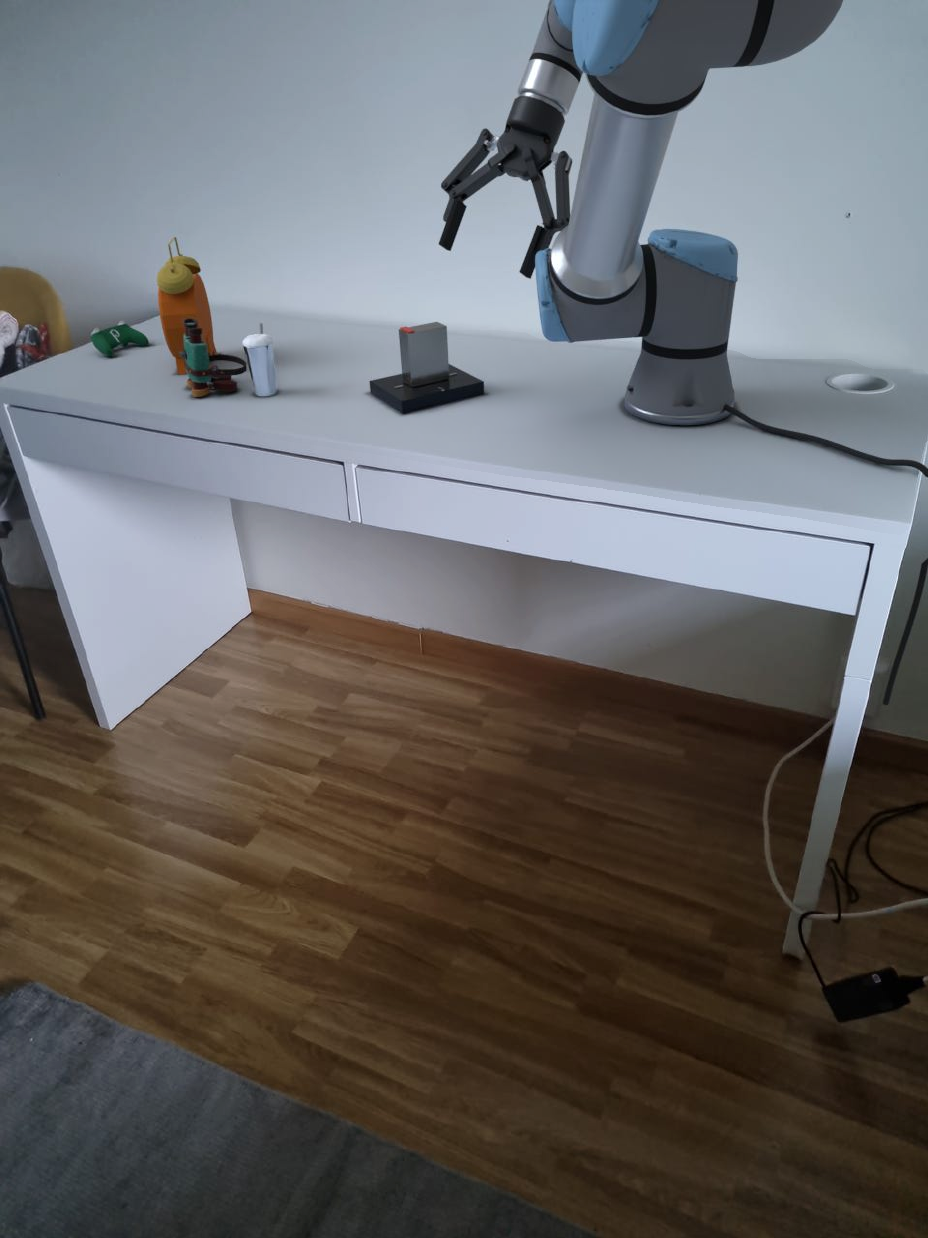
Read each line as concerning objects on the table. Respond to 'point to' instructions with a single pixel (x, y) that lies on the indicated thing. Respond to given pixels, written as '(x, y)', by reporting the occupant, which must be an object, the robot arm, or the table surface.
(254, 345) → the milkshake
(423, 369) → the red-capped silver block
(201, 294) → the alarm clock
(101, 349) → the gaming controller
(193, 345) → the binoculars
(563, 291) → the robot arm
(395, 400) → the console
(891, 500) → the table surface
